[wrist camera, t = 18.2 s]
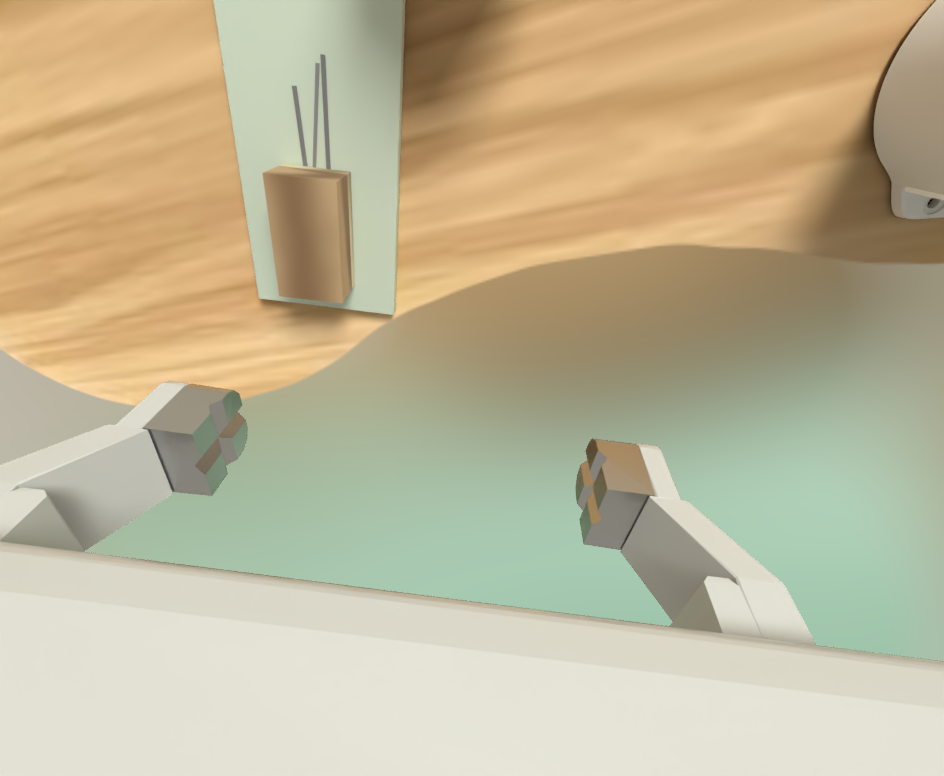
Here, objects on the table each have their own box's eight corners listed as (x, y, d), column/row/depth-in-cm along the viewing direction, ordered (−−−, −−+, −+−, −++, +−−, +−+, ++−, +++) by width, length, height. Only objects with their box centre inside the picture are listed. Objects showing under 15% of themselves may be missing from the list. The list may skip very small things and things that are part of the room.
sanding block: (350, 172, 34) (336, 182, 31) (354, 284, 39) (342, 303, 36) (283, 163, 34) (262, 172, 31) (296, 277, 39) (279, 296, 36)
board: (406, -40, 28) (403, -45, 27) (395, 309, 42) (393, 315, 41) (211, -72, 28) (200, -78, 27) (264, 293, 41) (258, 298, 40)
